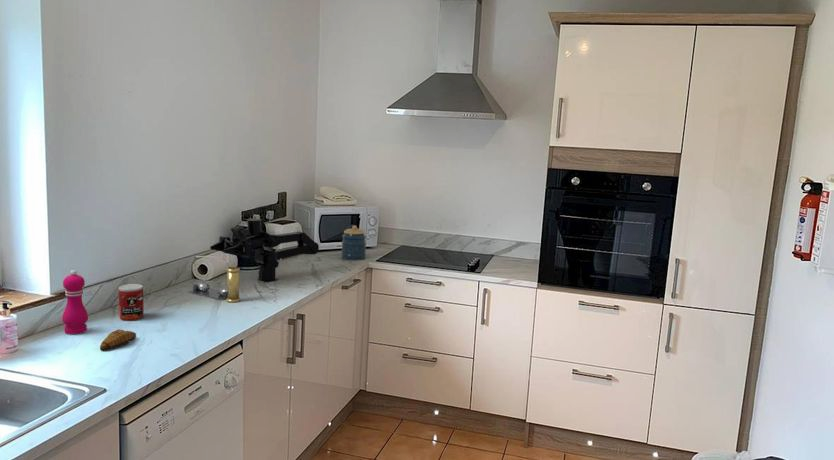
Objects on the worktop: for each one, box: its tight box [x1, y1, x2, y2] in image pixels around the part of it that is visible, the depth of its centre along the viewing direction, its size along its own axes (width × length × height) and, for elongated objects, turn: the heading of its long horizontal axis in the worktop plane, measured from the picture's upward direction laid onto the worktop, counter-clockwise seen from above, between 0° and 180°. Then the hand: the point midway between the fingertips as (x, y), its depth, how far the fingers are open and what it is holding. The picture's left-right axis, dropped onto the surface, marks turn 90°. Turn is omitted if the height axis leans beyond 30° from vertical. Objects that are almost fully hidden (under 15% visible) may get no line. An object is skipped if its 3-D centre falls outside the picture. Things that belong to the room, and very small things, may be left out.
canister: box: [341, 225, 367, 260], centre depth 326 cm, size 13×13×18 cm
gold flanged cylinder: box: [225, 266, 241, 304], centre depth 235 cm, size 5×5×13 cm
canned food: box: [118, 283, 145, 322], centre depth 210 cm, size 8×8×11 cm
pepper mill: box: [61, 269, 89, 335], centre depth 193 cm, size 7×7×20 cm
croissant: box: [99, 328, 137, 352], centre depth 185 cm, size 14×7×5 cm, turn 164°
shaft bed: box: [187, 281, 227, 301], centre depth 244 cm, size 19×9×3 cm, turn 60°
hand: (216, 249), depth 249 cm, fingers open, 9 cm apart
